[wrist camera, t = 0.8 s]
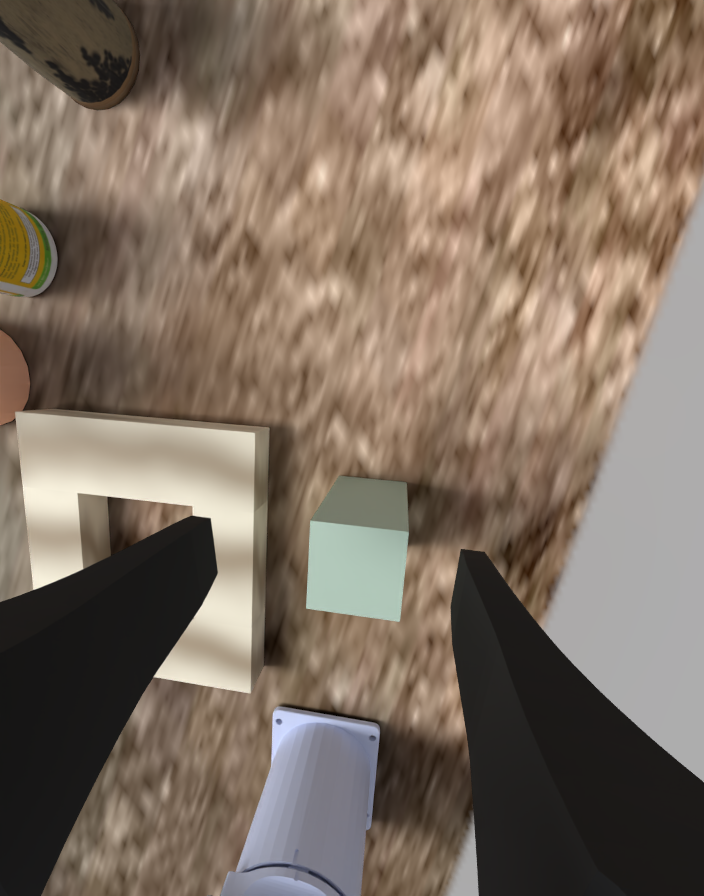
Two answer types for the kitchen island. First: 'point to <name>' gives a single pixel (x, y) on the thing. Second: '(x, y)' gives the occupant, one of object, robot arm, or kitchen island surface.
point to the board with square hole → (167, 481)
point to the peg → (359, 549)
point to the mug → (75, 46)
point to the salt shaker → (12, 379)
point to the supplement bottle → (24, 253)
